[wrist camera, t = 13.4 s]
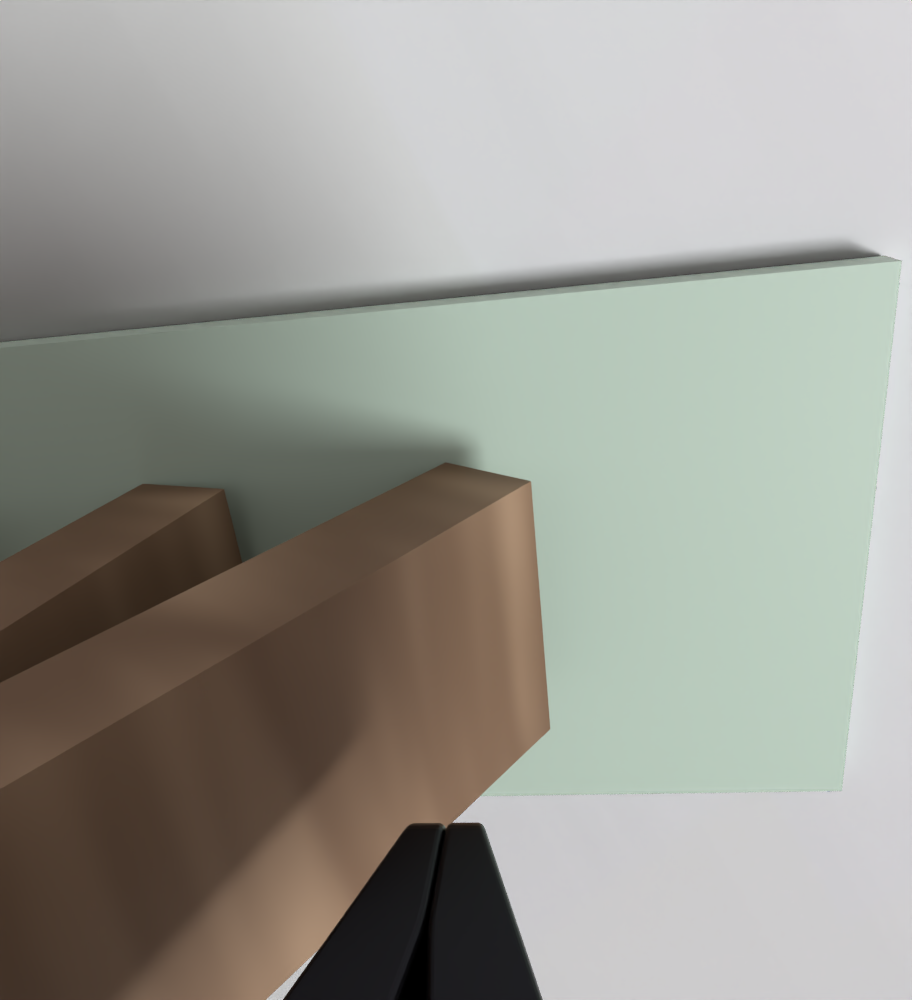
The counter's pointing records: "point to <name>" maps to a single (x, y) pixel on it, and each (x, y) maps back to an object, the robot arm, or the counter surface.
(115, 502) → the domino
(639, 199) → the counter surface
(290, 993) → the robot arm
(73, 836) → the domino
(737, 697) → the board
